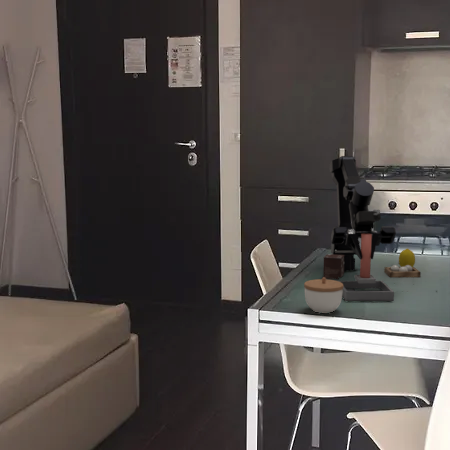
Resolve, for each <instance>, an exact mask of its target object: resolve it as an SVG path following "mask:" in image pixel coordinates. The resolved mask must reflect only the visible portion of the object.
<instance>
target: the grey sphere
mask: <svg viewBox="0 0 450 450" xmlns="http://www.w3.org/2000/svg"><path fill="white" fill-rule="evenodd" d="M390 267H391V268H390V270H391V271H393V272H399V267H400V266H398V265H396V264H393V265H392V266H390Z"/></svg>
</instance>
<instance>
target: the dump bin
mask: <svg viewBox="0 0 450 450" xmlns="http://www.w3.org/2000/svg"><path fill="white" fill-rule="evenodd" d="M338 281H339V282H341V283H343V295H342V297H343V298H344V299H343V298H342V299H343V300H344V302H345V301H394V300H395V291H394V290H393V289H392V288H391V287H390V286H388V284H387V283H385V282H384V280H376V283H358V282H357V281H356V280H338ZM356 289H362V290H356ZM363 289H364V290H363ZM365 289H366V290H365ZM367 289H376V290H367ZM377 289H380V290H377ZM394 302H395V301H394Z"/></svg>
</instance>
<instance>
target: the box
mask: <svg viewBox="0 0 450 450" xmlns="http://www.w3.org/2000/svg"><path fill="white" fill-rule="evenodd" d="M322 267H323V275H322V276H323V277H324V278H326V280H338V281H341V280H340V279H341V278H342V277H343V276H344V274H345V271H344V255H335V254H332V253H330V254H328V253H327V254H325V256H324V257H323V266H322ZM323 277H322V278H323Z"/></svg>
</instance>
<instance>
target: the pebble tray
mask: <svg viewBox="0 0 450 450" xmlns="http://www.w3.org/2000/svg"><path fill="white" fill-rule="evenodd" d="M391 267H392V266H384V269H383V270H384V271H383V272H384V273H385V274H386V275H387V276H388V277H389V278H421V274H422V273H421V271H420V270H419V269H417V268H416V267H414V266H413V267H412V269H413V270H412V272H393V271H391V270H390V268H391ZM398 267H399V268H400V267H401V266H398Z"/></svg>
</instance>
